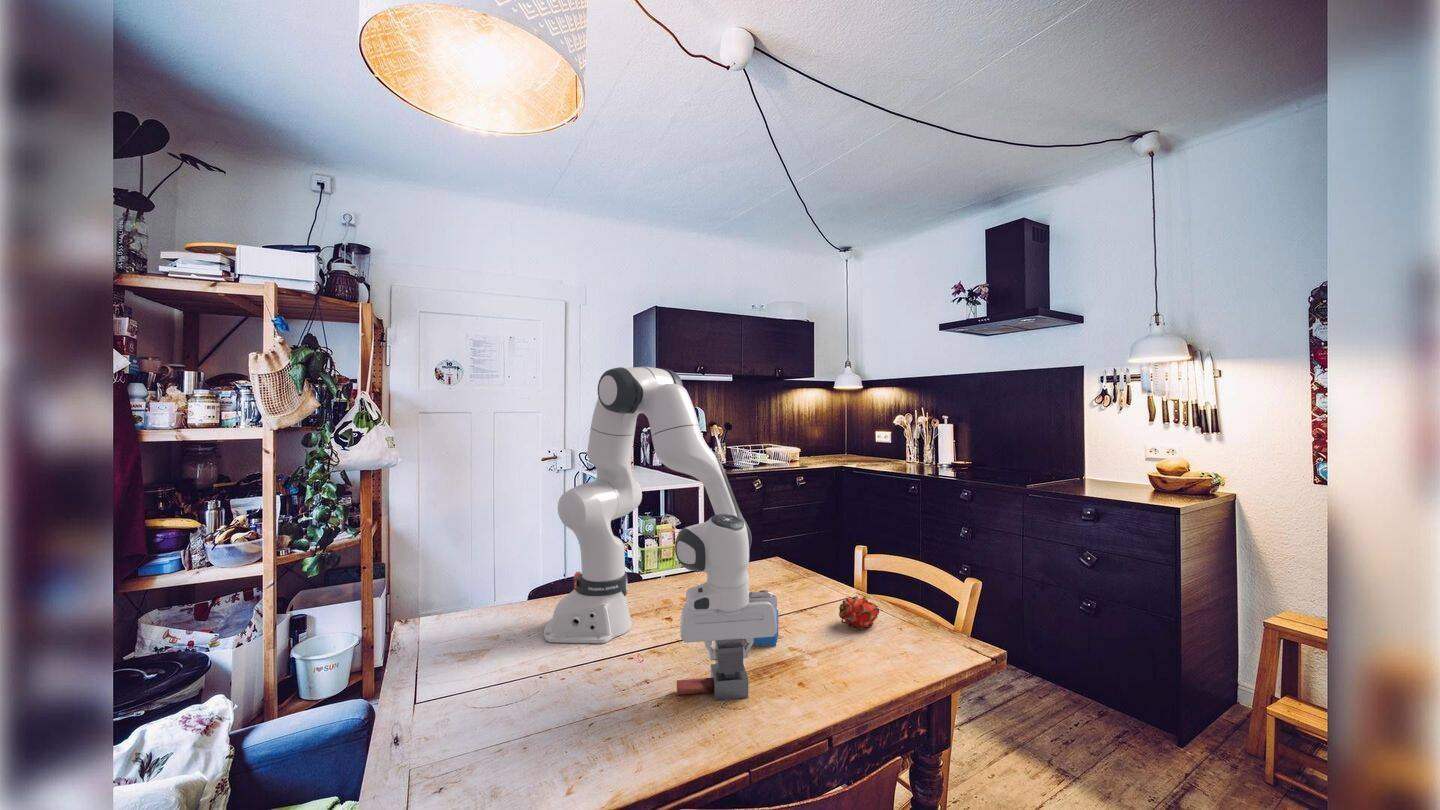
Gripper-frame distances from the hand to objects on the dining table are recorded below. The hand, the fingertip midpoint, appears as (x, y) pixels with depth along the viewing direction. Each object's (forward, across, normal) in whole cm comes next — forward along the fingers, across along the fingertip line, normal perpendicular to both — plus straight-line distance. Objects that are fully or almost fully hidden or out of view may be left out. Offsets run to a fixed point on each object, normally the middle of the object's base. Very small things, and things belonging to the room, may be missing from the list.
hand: (728, 657), depth 123 cm
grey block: (+2, 0, 0) cm, 2 cm away
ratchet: (+7, +4, 0) cm, 8 cm away
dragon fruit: (+7, -38, -25) cm, 46 cm away
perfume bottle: (+7, -12, -21) cm, 25 cm away
